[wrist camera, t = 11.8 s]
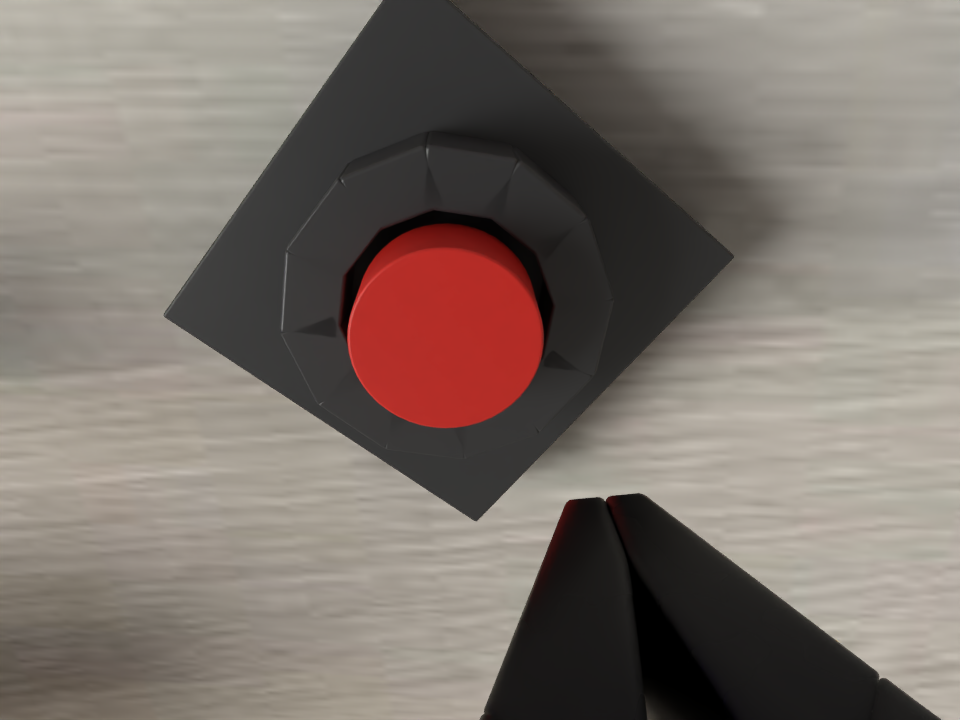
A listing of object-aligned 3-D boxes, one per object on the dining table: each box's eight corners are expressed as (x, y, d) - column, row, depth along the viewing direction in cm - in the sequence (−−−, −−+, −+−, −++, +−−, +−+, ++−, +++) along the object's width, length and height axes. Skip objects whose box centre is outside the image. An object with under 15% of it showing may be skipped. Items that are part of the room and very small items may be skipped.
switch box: (706, 231, 19) (766, 283, 15) (474, 475, 22) (478, 569, 18) (413, -31, 16) (401, -43, 13) (192, 284, 19) (130, 349, 15)
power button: (571, 296, 16) (584, 329, 14) (460, 418, 17) (460, 461, 15) (431, 184, 15) (428, 205, 13) (322, 322, 16) (307, 357, 14)
